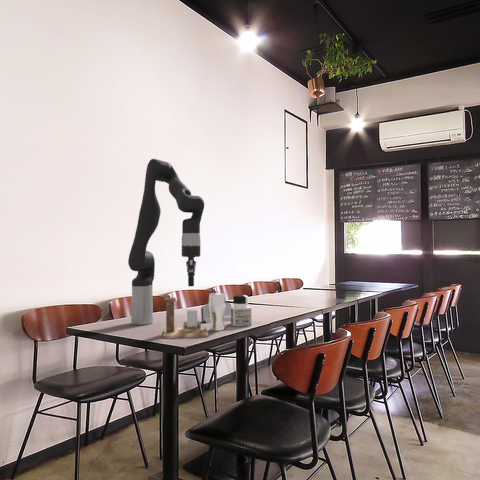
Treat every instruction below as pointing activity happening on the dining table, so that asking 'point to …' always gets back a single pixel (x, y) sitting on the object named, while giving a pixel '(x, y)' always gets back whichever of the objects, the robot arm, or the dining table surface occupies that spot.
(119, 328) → the dining table surface
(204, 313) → the card swipe reader
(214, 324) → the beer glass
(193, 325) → the brushed grey block
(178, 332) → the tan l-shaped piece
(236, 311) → the container
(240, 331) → the dining table surface
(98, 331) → the dining table surface
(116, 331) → the dining table surface
